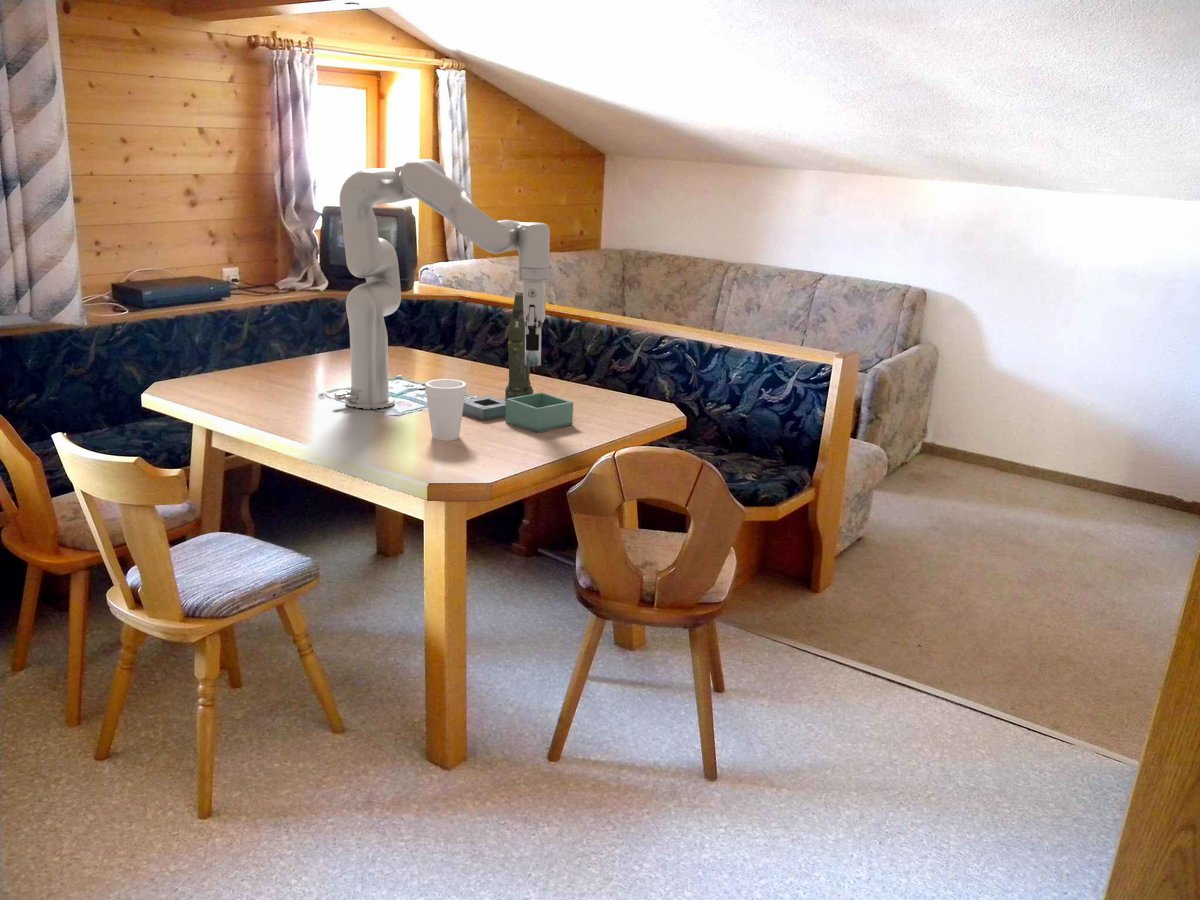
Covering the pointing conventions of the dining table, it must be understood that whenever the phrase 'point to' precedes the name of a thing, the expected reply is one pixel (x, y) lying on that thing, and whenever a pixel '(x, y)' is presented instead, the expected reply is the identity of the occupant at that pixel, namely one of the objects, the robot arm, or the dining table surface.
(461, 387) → the foam cup
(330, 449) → the dining table surface
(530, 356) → the metal peg
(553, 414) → the bin
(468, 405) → the socket block
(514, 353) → the mechanical leg
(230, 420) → the dining table surface
